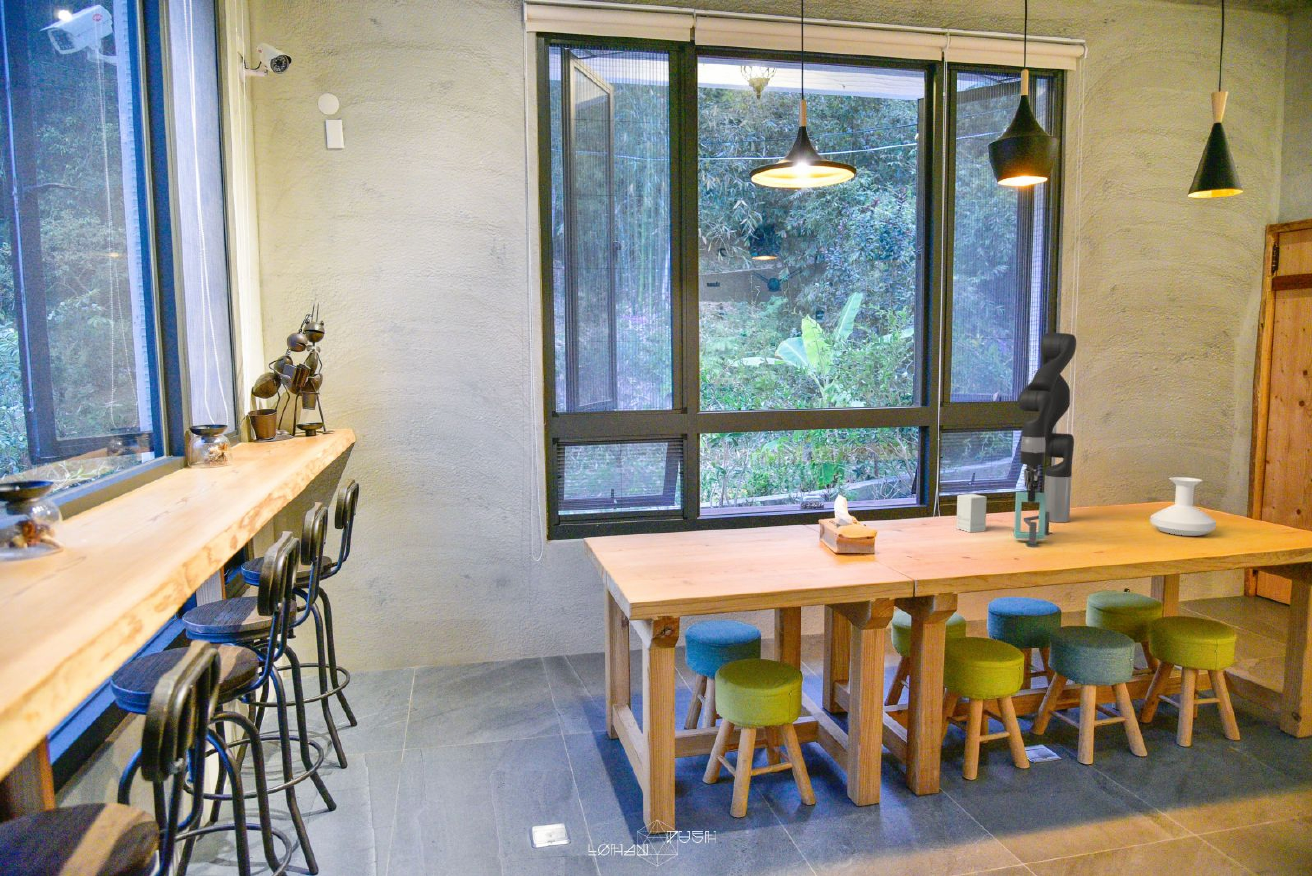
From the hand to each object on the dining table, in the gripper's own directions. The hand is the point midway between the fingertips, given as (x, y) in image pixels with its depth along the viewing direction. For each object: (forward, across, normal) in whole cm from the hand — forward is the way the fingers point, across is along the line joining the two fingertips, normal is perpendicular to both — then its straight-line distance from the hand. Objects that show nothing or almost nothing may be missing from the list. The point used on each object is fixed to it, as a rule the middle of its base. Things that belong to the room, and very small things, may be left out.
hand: (1030, 500), depth 297 cm
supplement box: (+15, -17, -16) cm, 27 cm away
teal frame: (+13, 0, 0) cm, 13 cm away
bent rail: (+14, -4, +4) cm, 15 cm away
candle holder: (+15, -26, +57) cm, 64 cm away
